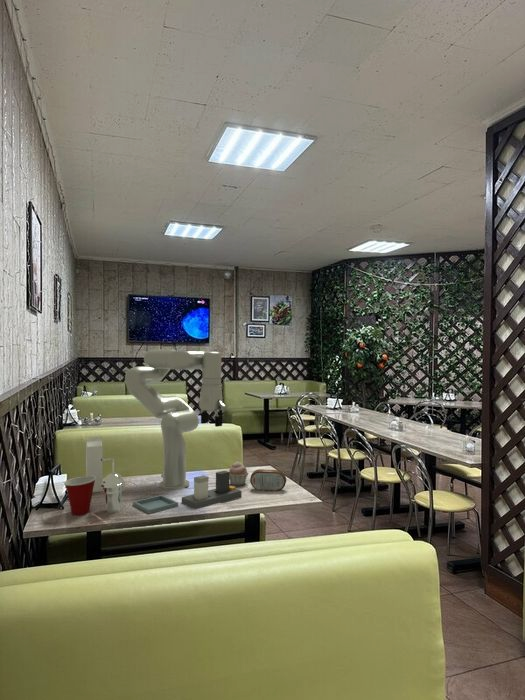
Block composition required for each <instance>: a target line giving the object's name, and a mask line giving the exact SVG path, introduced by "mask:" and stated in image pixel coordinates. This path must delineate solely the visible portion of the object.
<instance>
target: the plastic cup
mask: <svg viewBox="0 0 525 700" xmlns="http://www.w3.org/2000/svg"><path fill="white" fill-rule="evenodd" d="M95 479H96V477H94V476H86V475H85V476H78V477H73V478H69V479H67V480H65V481H63V485H64V486H65V488H66V492H67V497H68V502H69V507H70V512H71V514H72V515H74V516H83V515H86V514H89V512H90V509H91V503H92V498H93V493H94V492H93V487H94V482H95Z"/></svg>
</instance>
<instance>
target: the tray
mask: <svg viewBox="0 0 525 700" xmlns="http://www.w3.org/2000/svg"><path fill="white" fill-rule="evenodd" d="M132 506H133V507H136V508H137V509H138V510H139V509H140V510H141V511H142V512H144V513H146V514H147V515H150V514H155V513H158V512H163V511H165V510H166V511H167V510H169V509H173V508H176V507H179V502H178V501H176V500H173V499H171V498H169V497H167V496H165V495H164V494H160V495H156V496H152V497H151V496H150V497H147V498H143V499H139V500H135V501H133V502H132Z"/></svg>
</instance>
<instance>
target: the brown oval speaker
mask: <svg viewBox="0 0 525 700" xmlns="http://www.w3.org/2000/svg"><path fill="white" fill-rule="evenodd" d="M249 481H250V482H249V483H250V485H251V487H252V488H254V489H255V490H257V491H263V490H264V491H266V492H269V491H270V492H280V491H281V490H283V489H284V488H285V487H286V485H287V484H286V483H287V476H286V474H285V473H284V472H283V471H281V470H279V469H264V468H263V469H261V468H259V469H255V470H254V471H253V472H251V475H250V479H249Z"/></svg>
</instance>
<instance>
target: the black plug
mask: <svg viewBox="0 0 525 700" xmlns="http://www.w3.org/2000/svg"><path fill="white" fill-rule="evenodd" d="M229 486H230V479H229V470H221V471H218V472H217V471H216V472H215V489H216V493H218V494H223V493H227V492H229Z"/></svg>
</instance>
